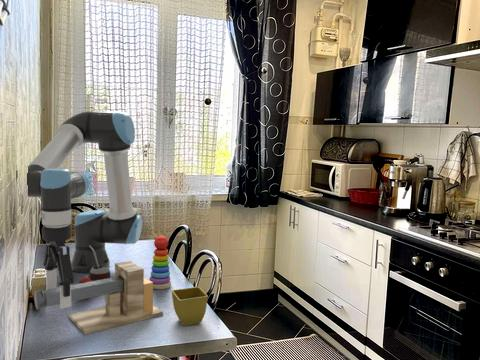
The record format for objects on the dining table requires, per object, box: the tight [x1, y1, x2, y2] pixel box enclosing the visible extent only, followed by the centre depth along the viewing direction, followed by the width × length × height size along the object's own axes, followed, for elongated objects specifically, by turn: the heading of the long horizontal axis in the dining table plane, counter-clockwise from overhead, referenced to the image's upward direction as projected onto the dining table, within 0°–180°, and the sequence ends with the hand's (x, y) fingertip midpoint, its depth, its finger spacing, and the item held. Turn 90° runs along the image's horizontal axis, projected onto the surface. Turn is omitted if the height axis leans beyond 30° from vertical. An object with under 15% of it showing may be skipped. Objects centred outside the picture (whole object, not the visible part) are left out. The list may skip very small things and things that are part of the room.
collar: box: [144, 276, 154, 313], centre depth 141 cm, size 9×3×9 cm, turn 38°
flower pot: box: [171, 286, 209, 327], centre depth 133 cm, size 9×9×9 cm
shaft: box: [33, 276, 124, 311], centre depth 130 cm, size 5×28×5 cm, turn 128°
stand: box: [69, 260, 164, 336], centre depth 135 cm, size 14×24×15 cm, turn 128°
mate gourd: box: [88, 245, 111, 281], centre depth 158 cm, size 8×8×15 cm
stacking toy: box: [148, 235, 172, 290], centre depth 162 cm, size 8×8×19 cm
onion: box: [77, 275, 92, 300], centre depth 149 cm, size 6×6×8 cm
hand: (58, 299), depth 125 cm, fingers open, 13 cm apart
